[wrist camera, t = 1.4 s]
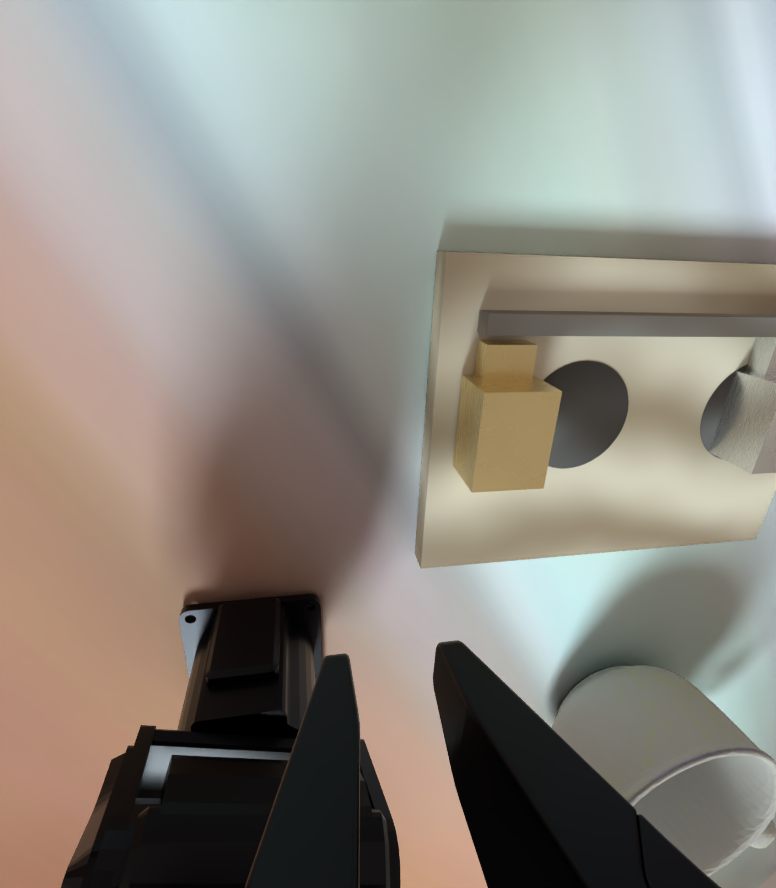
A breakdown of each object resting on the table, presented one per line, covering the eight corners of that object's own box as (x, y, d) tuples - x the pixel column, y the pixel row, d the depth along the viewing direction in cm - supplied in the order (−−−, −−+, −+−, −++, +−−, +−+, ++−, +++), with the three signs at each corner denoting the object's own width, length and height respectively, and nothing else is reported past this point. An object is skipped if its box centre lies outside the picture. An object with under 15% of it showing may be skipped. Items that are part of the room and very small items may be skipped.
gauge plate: (737, 527, 27) (772, 549, 25) (414, 553, 24) (425, 582, 22) (838, 266, 22) (893, 269, 20) (437, 251, 18) (454, 252, 16)
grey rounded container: (495, 722, 30) (559, 874, 23) (622, 609, 28) (736, 737, 21) (613, 782, 36) (695, 920, 28) (727, 692, 34) (846, 816, 26)
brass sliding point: (517, 462, 21) (543, 488, 19) (452, 465, 20) (471, 492, 18) (537, 339, 19) (569, 353, 17) (465, 339, 18) (489, 353, 16)
